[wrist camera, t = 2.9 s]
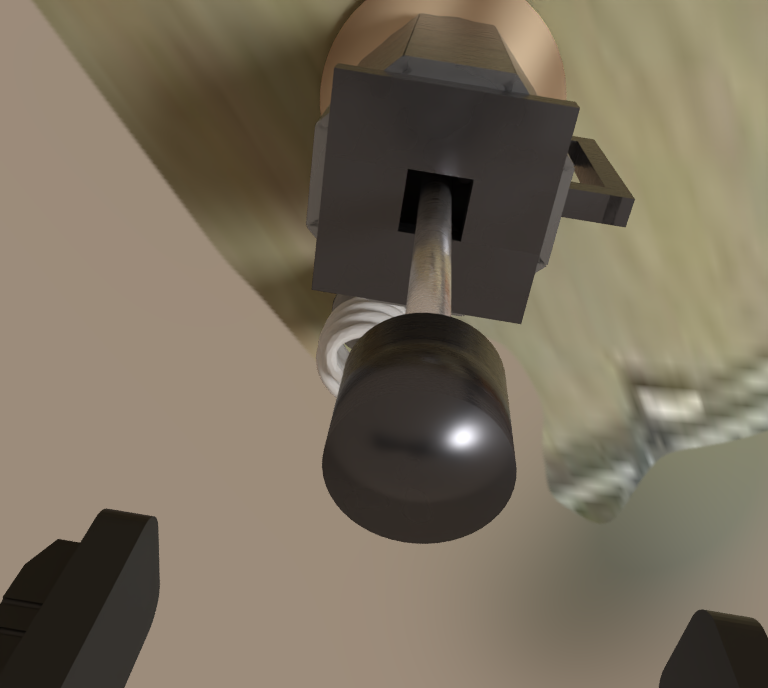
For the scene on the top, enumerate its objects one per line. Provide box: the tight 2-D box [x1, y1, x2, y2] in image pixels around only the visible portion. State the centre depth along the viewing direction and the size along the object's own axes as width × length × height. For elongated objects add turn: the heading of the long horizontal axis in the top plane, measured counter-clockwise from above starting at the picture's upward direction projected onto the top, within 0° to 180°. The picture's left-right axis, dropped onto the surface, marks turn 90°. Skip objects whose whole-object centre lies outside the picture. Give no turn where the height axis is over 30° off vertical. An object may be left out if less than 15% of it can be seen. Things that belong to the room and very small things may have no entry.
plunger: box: [322, 169, 516, 544], centre depth 22 cm, size 7×7×20 cm
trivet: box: [320, 0, 566, 116], centre depth 41 cm, size 14×14×1 cm
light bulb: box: [316, 294, 406, 398], centre depth 42 cm, size 6×6×12 cm
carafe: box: [306, 13, 635, 324], centre depth 34 cm, size 13×10×17 cm
